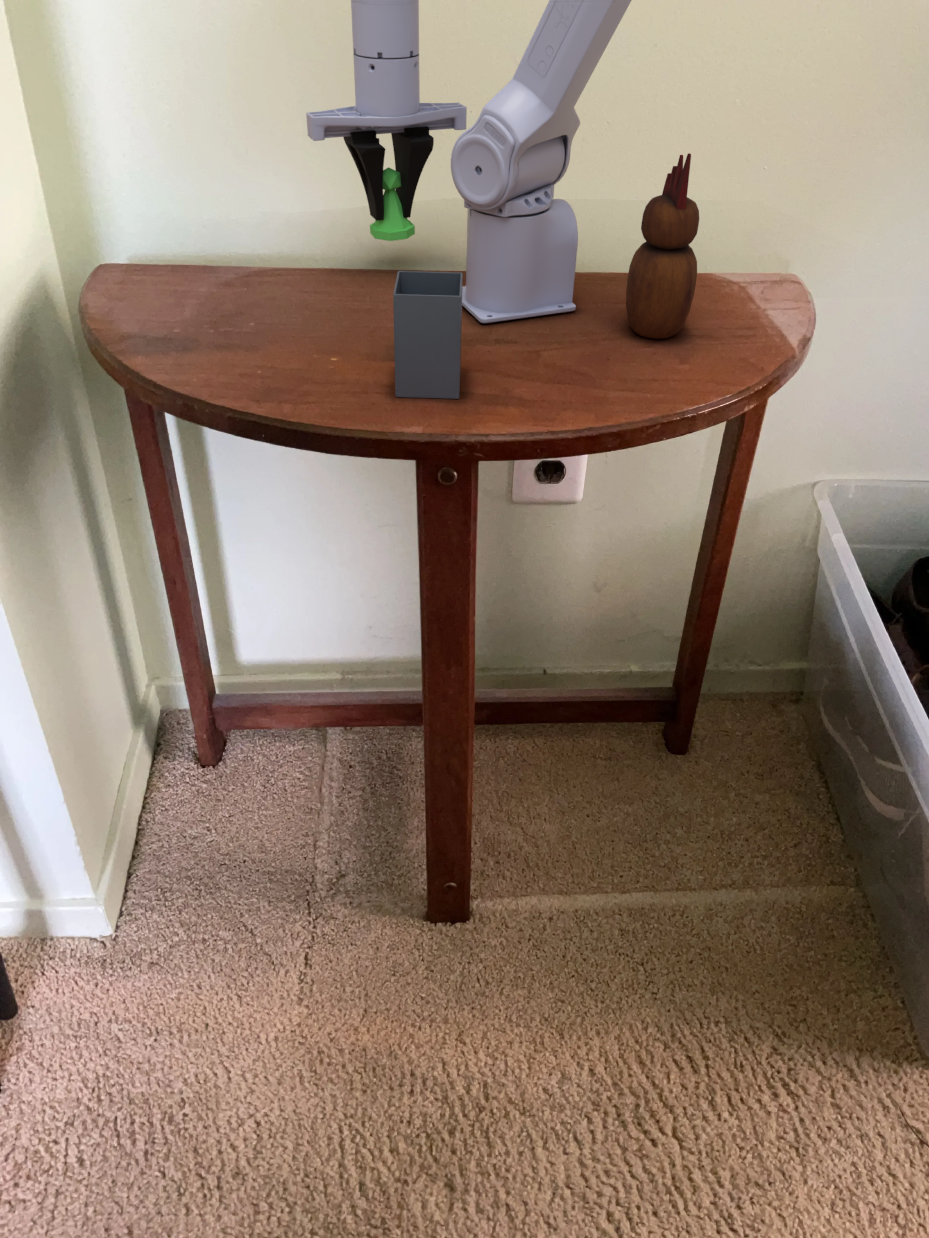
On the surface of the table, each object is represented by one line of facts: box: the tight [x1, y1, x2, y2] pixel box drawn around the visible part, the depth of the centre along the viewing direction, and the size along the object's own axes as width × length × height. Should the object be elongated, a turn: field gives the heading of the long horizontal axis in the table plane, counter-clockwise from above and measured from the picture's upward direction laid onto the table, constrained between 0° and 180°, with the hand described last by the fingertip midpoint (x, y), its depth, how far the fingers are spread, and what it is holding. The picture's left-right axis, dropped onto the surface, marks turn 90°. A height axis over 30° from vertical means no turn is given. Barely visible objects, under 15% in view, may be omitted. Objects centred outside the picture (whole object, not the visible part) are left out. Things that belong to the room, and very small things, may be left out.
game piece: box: [369, 167, 416, 242], centre depth 93 cm, size 4×4×6 cm
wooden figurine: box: [625, 153, 700, 340], centre depth 82 cm, size 7×6×15 cm
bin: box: [392, 270, 464, 400], centre depth 75 cm, size 5×5×8 cm
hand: (390, 216), depth 94 cm, fingers closed on game piece, 2 cm apart
